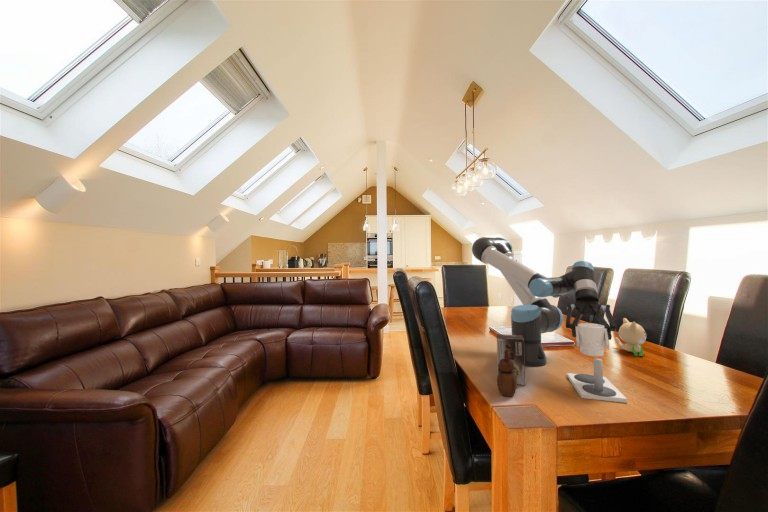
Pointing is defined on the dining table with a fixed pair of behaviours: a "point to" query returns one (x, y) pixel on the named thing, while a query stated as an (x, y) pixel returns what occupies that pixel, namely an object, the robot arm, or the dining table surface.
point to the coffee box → (512, 354)
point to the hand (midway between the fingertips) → (592, 345)
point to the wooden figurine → (506, 377)
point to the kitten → (631, 337)
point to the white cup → (591, 339)
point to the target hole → (586, 378)
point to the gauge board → (590, 396)
